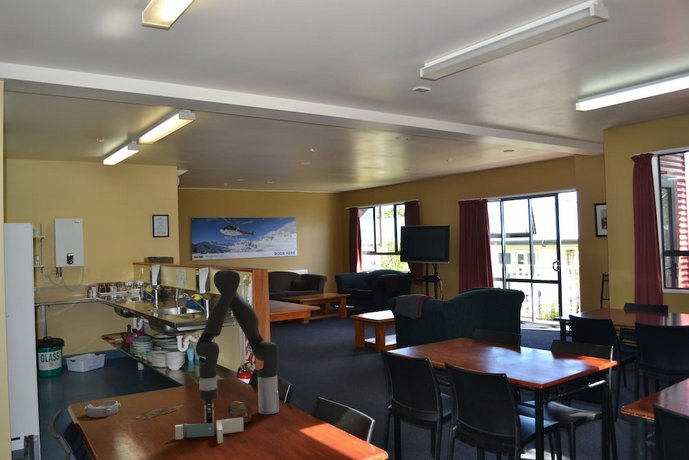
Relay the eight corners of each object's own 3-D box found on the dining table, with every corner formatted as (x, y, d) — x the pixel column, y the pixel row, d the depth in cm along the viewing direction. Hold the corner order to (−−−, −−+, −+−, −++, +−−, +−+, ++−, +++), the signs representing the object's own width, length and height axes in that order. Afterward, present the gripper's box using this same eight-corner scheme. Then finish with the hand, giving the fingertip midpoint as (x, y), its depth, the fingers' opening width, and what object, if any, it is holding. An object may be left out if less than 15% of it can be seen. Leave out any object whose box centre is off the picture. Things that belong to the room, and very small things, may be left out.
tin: (227, 418, 248) (227, 400, 248) (233, 416, 250) (233, 398, 250) (247, 424, 237) (247, 405, 238) (253, 423, 240) (252, 404, 240)
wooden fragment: (140, 422, 247) (140, 419, 247) (129, 417, 255) (129, 415, 255) (190, 408, 266) (190, 406, 266) (178, 404, 274) (178, 402, 274)
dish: (80, 417, 257) (80, 406, 257) (103, 408, 270) (103, 398, 270) (103, 420, 252) (103, 409, 252) (125, 411, 264) (125, 401, 265)
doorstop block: (214, 426, 232) (213, 410, 232) (214, 430, 228) (214, 413, 228) (204, 428, 230) (204, 411, 231) (204, 431, 227) (204, 414, 227)
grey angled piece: (243, 429, 231) (242, 417, 231) (246, 439, 219) (245, 426, 219) (175, 438, 223) (175, 425, 224) (174, 449, 211) (174, 435, 211)
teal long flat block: (214, 434, 225) (214, 422, 225) (213, 436, 223) (213, 423, 223) (184, 436, 224) (184, 423, 224) (183, 438, 222) (182, 425, 222)
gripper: (217, 390, 224) (219, 431, 223) (216, 382, 237) (217, 421, 237) (199, 392, 222) (200, 434, 221) (199, 384, 235) (200, 423, 235)
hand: (209, 427), depth 229 cm, fingers closed on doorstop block, 4 cm apart
